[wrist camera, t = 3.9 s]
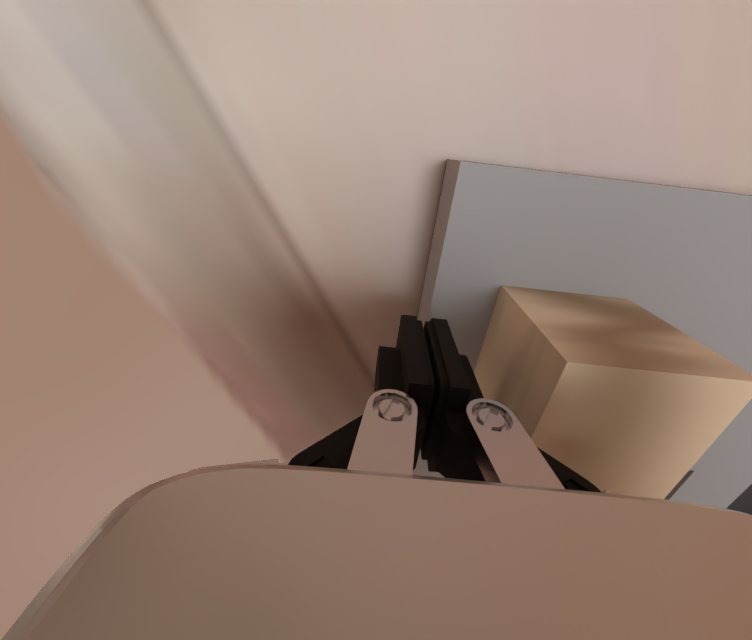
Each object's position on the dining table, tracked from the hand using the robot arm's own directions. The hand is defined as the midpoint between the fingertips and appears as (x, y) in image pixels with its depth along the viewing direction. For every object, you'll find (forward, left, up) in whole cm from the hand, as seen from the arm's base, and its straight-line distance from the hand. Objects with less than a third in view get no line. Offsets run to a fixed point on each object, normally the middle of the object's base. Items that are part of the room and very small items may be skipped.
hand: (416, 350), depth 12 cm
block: (-5, -3, -1) cm, 6 cm away
